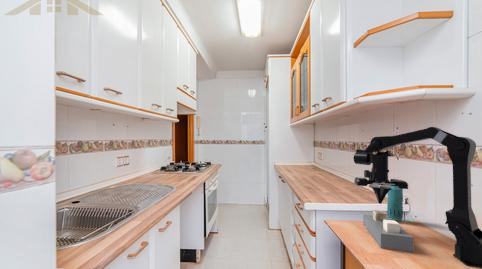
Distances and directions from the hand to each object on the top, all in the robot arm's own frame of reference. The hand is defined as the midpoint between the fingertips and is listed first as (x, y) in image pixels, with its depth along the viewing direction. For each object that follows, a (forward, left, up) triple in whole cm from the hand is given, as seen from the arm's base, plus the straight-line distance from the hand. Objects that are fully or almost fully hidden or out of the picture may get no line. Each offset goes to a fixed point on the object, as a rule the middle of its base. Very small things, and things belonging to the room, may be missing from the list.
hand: (379, 203), depth 94 cm
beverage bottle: (-12, -17, -12) cm, 24 cm away
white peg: (0, +12, -9) cm, 15 cm away
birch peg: (0, 0, -9) cm, 9 cm away
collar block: (0, +6, -12) cm, 13 cm away
